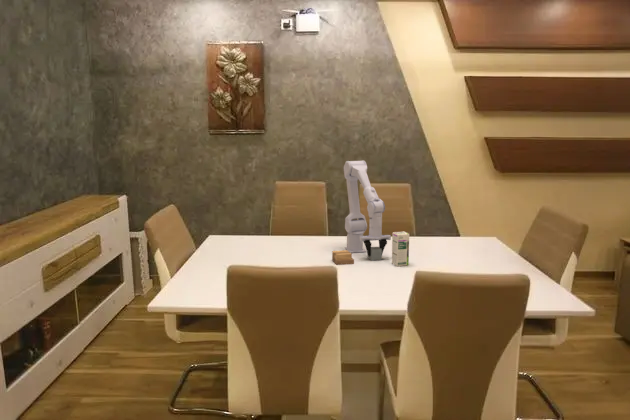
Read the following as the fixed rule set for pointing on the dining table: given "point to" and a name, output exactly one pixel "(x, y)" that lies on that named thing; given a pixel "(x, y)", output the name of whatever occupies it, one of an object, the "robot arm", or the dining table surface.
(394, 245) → the syrup box
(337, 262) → the walnut base block
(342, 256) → the oak top block
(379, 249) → the slate cube
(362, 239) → the robot arm
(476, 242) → the dining table surface
